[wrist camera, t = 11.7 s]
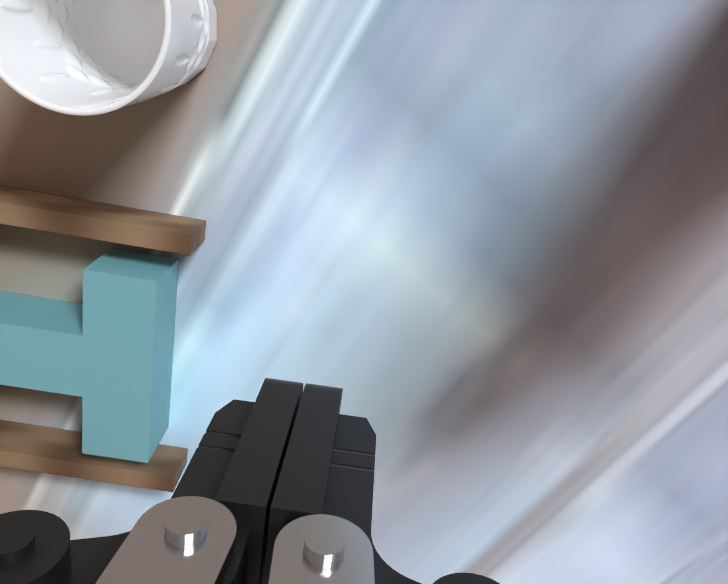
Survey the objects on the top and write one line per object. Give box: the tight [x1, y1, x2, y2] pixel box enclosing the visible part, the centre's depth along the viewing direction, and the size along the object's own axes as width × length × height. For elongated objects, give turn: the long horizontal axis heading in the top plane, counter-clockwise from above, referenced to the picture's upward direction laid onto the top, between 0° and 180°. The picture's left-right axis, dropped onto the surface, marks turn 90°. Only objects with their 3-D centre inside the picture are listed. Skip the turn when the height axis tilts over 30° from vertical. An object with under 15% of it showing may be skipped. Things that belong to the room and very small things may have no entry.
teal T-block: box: [0, 248, 179, 463], centre depth 37 cm, size 11×12×4 cm
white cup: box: [0, 0, 217, 116], centre depth 28 cm, size 8×8×10 cm
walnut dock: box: [0, 186, 206, 492], centre depth 37 cm, size 14×17×3 cm
